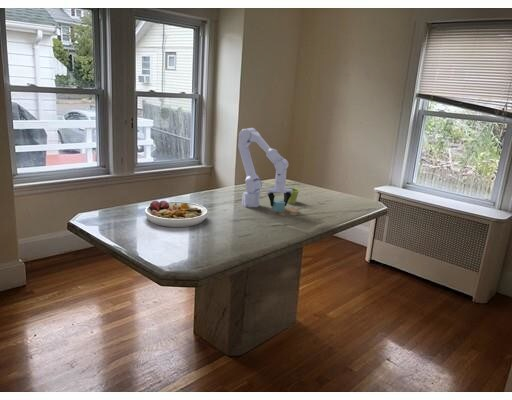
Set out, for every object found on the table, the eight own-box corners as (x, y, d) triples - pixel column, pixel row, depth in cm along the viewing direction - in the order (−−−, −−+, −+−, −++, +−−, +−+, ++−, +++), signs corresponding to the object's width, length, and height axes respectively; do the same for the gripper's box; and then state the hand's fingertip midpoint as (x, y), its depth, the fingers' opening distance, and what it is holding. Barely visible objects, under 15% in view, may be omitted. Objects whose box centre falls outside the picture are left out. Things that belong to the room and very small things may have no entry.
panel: (277, 217, 223) (277, 215, 223) (268, 210, 235) (268, 208, 234) (303, 216, 228) (303, 214, 228) (293, 209, 240) (293, 207, 239)
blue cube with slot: (275, 211, 229) (276, 202, 227) (271, 208, 234) (272, 199, 232) (284, 211, 230) (285, 202, 229) (280, 208, 235) (281, 199, 234)
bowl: (215, 215, 220) (216, 201, 218) (192, 233, 192) (192, 216, 190) (163, 207, 228) (163, 193, 226) (133, 223, 200) (133, 207, 198)
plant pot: (298, 206, 246) (299, 192, 244) (282, 205, 246) (283, 191, 244) (297, 202, 255) (298, 188, 253) (281, 201, 255) (283, 187, 253)
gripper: (270, 183, 222) (268, 208, 225) (295, 183, 227) (293, 207, 230) (265, 180, 228) (264, 204, 232) (290, 180, 233) (288, 204, 237)
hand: (278, 205), depth 231 cm, fingers open, 7 cm apart
